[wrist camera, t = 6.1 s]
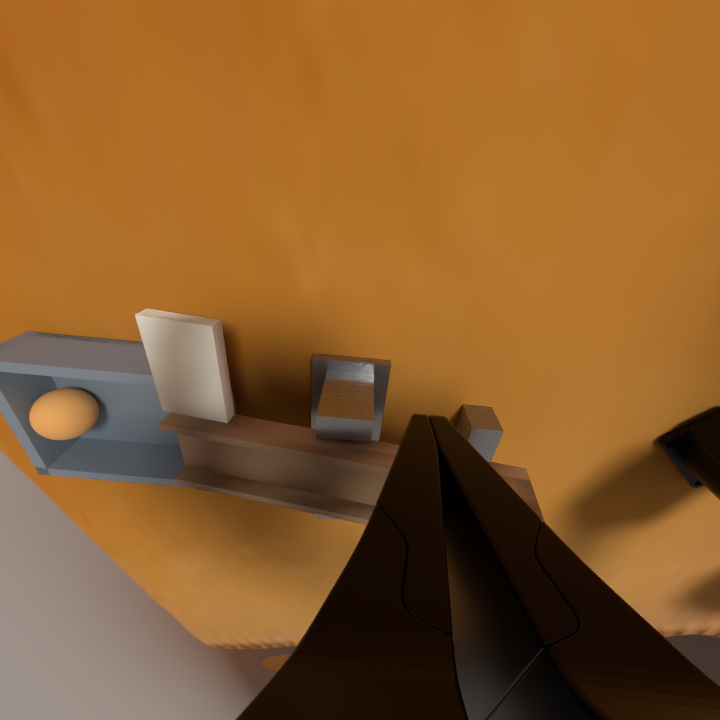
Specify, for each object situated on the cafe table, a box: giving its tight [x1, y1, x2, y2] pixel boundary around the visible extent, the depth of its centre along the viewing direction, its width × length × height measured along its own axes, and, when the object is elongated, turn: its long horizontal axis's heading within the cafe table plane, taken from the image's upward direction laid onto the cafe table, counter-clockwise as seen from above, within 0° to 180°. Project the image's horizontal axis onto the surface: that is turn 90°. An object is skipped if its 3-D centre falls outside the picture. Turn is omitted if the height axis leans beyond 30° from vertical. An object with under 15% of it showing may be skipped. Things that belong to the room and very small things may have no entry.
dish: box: [0, 332, 188, 487], centre depth 22 cm, size 10×9×4 cm
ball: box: [29, 388, 99, 440], centre depth 21 cm, size 3×3×3 cm
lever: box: [135, 309, 544, 525], centre depth 17 cm, size 20×11×4 cm, turn 85°
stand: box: [230, 353, 503, 520], centre depth 21 cm, size 20×10×5 cm, turn 85°
